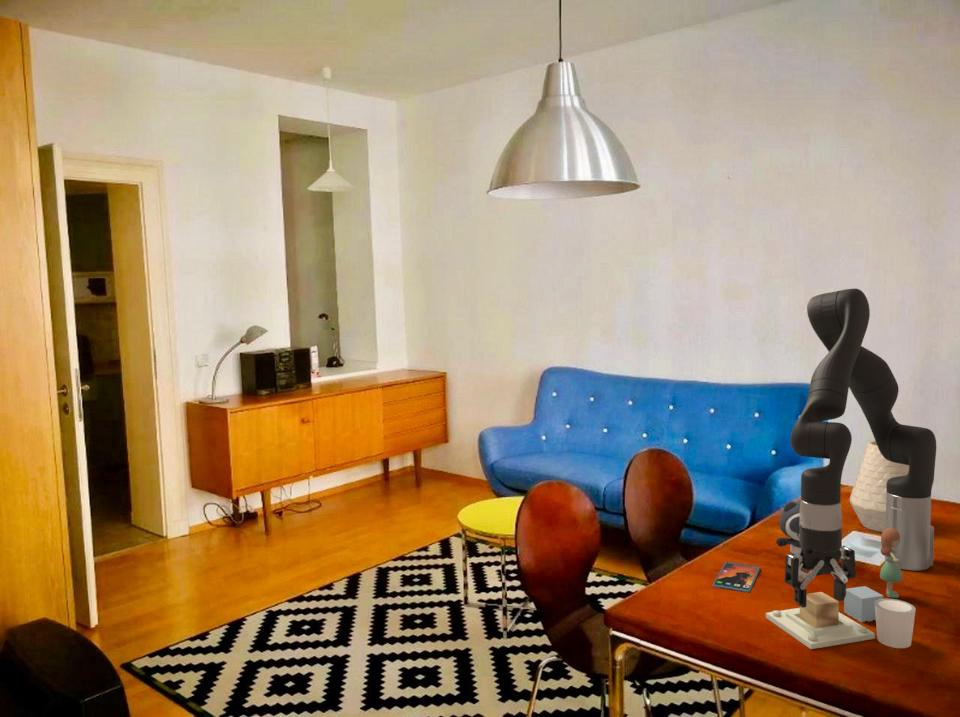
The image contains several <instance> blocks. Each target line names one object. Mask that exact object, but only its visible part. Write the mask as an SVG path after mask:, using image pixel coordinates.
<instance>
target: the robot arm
mask: <svg viewBox="0 0 960 717" xmlns="http://www.w3.org/2000/svg"><path fill="white" fill-rule="evenodd" d="M870 310H871V309H870V304H869V301H868V298H867V296H866V294H865V293H864V292H863V291H862V290H861V289H859V288H846V289H841V290H836V291H831V292H830V291H829V292H825V293H820V294H818V295H814V296H812V297H811V298H810V299H809V300H808V302H807V306H806V311H807V317H808V321H809V323H810V325H811V327H812V330H813V331H814V333H815V334H816V336H817V337H818V339H819V340H820V342H822V345H823V346H824V347H825V348H826V349H827V352H828V353H827V354H826V355H825V356H824V357H823V358H822V359H821V361H820V362H819V364H818V365H817V366H816V368H815V370H814V371H813V373H812V376H811V380H810V385H809V391H808V394H807V400H806V404H805V406H804V407H803V410H802V412H801V413H800V415H799V417H798V419H797V420H796V422H795V424H794V426H793V428H792V430H791V432H790V446H791V448H792V451H793V452H794V453H795V454H796V455H798V456H801V457H804V458H805V457H806V458H817V459H825V460H826V459H827V460H829V463H828V464H827V465H825V466H820V467H812V468H811V467H810V468H807V469H805V470H803V471H802V473H801V476H800V477H801V478H800V502H801V504H800V545H801V553H800V555H792V554H790V553H787V554H786V555H785V562H784V563H785V566H784V567H785V568H784V579H783V580H784V583H785V584H787V585H788V586H791V588H793V591H794V593H793V594H794V598H793V599H794V603H796V605H797V606H799V608H800V607H802V608H804V607H806V598H807V594H808V592H807V589H806V588H807V586H809V585H808V584H809V583H810V582H811V581H814V579H815V577H816V576H817V577H819V576H822V575H824V574H825V575H831V576H833V578H834V579H833V599H835V600H837V601H838V602H844V598H845V596H846V589H847V583H848V581H849V580H850V579H851V580H854V579H856V576H857V574H856V573H857V572H856V553H855V550H854V549H852V548H851V547H848V546H847V545H846V546H845V545H842V542H843V539H842V538H843V535H842V534H843V533H842V532H843V512H842V505H841V503H842V502H841V497H842V496H841V494H842V493H841V490H842V489H841V488H842V487H841V486H842V476H843V470H844V466H845V463H846V460H847V458H848V456H849V451H850V449H851V446H852V438H853V437H852V433H851V431H850V429H849V427H848V426H847V425H845V424H844V423H842V422H835V421H834V422H833V421H830V420H836V419H839V418H841V417H842V416H843V415H844V414H845V412H846V408H847V402H848V397H849V396H848V395H849V390H850V392H851V393H852V395H853V397H854V398H855V400H856V402H857V404H858V405H859V407H860V409H861V411H862V413H863V415H864V417H865V419H866V421H867V423H868V425H869V428H870V430H871V433H872V435H873V437H874V441H876V444H877V446H878V449H879V451H880V453H881V454H882V456H883V457H884V458H885V459H887V460H888V461H891V462H894V463H899V464H905V465H909V471H908V474H907V475H905V476H898V477H893V478H890V479H889V480H888V481H887V484H886V529H887V528H893V529H895V530H897V531H898V532H899V534H900V543H899V545H898V546H897V547H892V550H893V551H895V552H896V553H897V554H898V557H897V558H896V559H898V562H897V564H898V565H899V567H900V569H901V570H904V571H905V570H906V571H926V570H927V569H929V568H930V567H931V566H933V567H934V543H935V538H934V535H935V532H934V531H935V527H934V526H933V525H931V524H932V523H931V521H932V520H931V518H932V489H933V485H934V482H935V467H936V466H935V465H936V457H937V438H936V435H935V433H934V432H933V431H932V430H931V429H930V428H927V427H922V426H921V427H920V426H915V425H908V424H907V425H906V424H901V423H899V422H898V421H897V420H896V418H895V417H894V414H893V412H892V410H893V408H894V406H895V404H896V402H897V400H898V396H899V390H900V389H899V384H898V382H897V380H896V377H895V376H894V374H893V371H892V369H891V368H890V366H889V364H888V363H887V361H885V360H884V359H883V358H882V357H881V356H879V355H878V354H877V353H874V352H873V351H871V350H869V349H868V348H866V347H864V346H862V344H863V341H864V339H865V335H866V332H867V329H868V325H869V322H870V317H871V314H870V313H871V311H870ZM829 421H830V422H829ZM887 559H888V556H884V563H885V562H886V561H887ZM840 560H841V566H840V565H839V562H840ZM806 571H807V572H806Z"/></svg>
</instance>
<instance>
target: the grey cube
mask: <svg viewBox="0 0 960 717" xmlns="http://www.w3.org/2000/svg"><path fill="white" fill-rule="evenodd" d="M879 599H884V595H883V594H881V593H879V592H877V591H875V590H873V589H871V588H869V586H865V585H863V586H856V587H850V588H846V596H845V598H844V601H843V612H844V613H845V614H846V613H847V615H848V616H849V617H851V616H852V617H851V618H853V619H854V620H856V619H857V621H858V622H860V623H861V622H862V623H866V622H865V621H868V622H873V620H875V621H876V616H875V605H874V604H875V601H877V600H879Z"/></svg>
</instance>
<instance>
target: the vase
mask: <svg viewBox="0 0 960 717" xmlns="http://www.w3.org/2000/svg"><path fill="white" fill-rule="evenodd" d="M908 471H909V465H905V464H899V463H894V462H891V461H888V460H887V459H885V458H884V457H883V456H882V454H881V453H880V451H879V449H878V446H877V444H876V441H875V440H871V441H868V442H867V446H866V448H865V452H864V455H863V457H862V460H861V463H860V467H859V469H858V472H857V475H856V478H855V481H854V484H853V487H852V489H851V493H850V497H849V503H850V505H851V507H852V509H853V510H854V512H855V514H856V516H857V518H858V519H859V521H860V523H861V525H862V526H863V527H864V528H866V529H868V530H870V531H874V532H878V533H883V531H884V530H885V529H886V484H887V481H888V480H889V479H890V478H893V477H898V476H905V475H907V474H908Z"/></svg>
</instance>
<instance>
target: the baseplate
mask: <svg viewBox="0 0 960 717" xmlns="http://www.w3.org/2000/svg"><path fill="white" fill-rule="evenodd" d="M765 618H766V619H767V620H768V621H770V622H771V623H773V624H774V625H775V626H777V627H778V628H780V629H781V630H783V631H784V632H785V633H787V634H789V635H790V636H791V637H793V638H794V639H796V640H797V641H798V642H800V643H801V644H802V645H804V646H806V647H807V648H808V649H809V650H814V649H815V650H816V649H820V648H827V647H832V646H833V647H834V646H838V645H844V644H851V643H857V642H863V641H869V640H875V639H876V634H875V632H873V631H871V630H870V629H868V628H867V627H866V626H863V625H861V624H860V623H858V622H856V621H855V620H853V619H851V618H850V617H848V616H846V615H845V614H843V613H841V612H840V611H839V625H835V626H828V627H822V628H816V629H815V628H813V627H812V626H810V625H809V624H807V623H806V622H804V621H803V620H801V619H800V607H797V608H790V609H784V610H775V609H774V610H772V611H770V612H765Z"/></svg>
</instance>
